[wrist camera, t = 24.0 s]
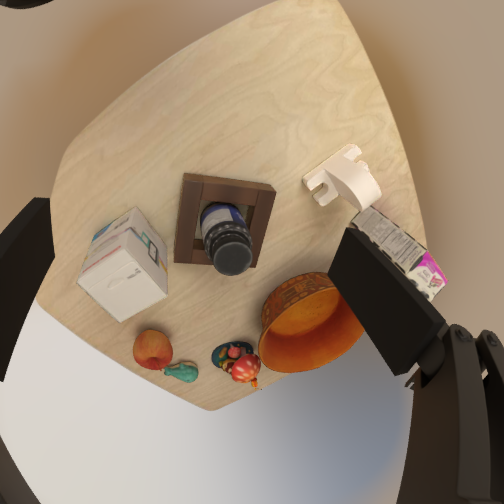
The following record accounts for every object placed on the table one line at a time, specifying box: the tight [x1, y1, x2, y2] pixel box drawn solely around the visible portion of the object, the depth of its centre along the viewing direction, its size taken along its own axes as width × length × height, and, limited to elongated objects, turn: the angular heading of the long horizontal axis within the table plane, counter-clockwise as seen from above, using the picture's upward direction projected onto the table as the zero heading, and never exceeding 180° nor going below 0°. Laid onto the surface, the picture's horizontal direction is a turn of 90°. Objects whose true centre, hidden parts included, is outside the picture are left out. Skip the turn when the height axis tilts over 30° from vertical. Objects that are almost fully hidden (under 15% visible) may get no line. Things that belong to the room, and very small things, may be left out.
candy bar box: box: [351, 205, 448, 302], centre depth 45 cm, size 11×5×16 cm, turn 50°
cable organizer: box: [302, 143, 382, 212], centre depth 40 cm, size 5×10×10 cm, turn 126°
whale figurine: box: [164, 362, 198, 383], centre depth 58 cm, size 6×7×4 cm
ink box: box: [76, 207, 168, 323], centre depth 37 cm, size 8×8×12 cm
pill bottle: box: [200, 202, 253, 276], centre depth 39 cm, size 6×6×11 cm
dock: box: [174, 173, 276, 268], centre depth 42 cm, size 12×12×3 cm
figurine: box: [212, 342, 262, 390], centre depth 57 cm, size 12×9×8 cm
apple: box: [133, 330, 173, 371], centre depth 49 cm, size 7×7×8 cm
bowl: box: [258, 272, 365, 373], centre depth 52 cm, size 21×21×10 cm
